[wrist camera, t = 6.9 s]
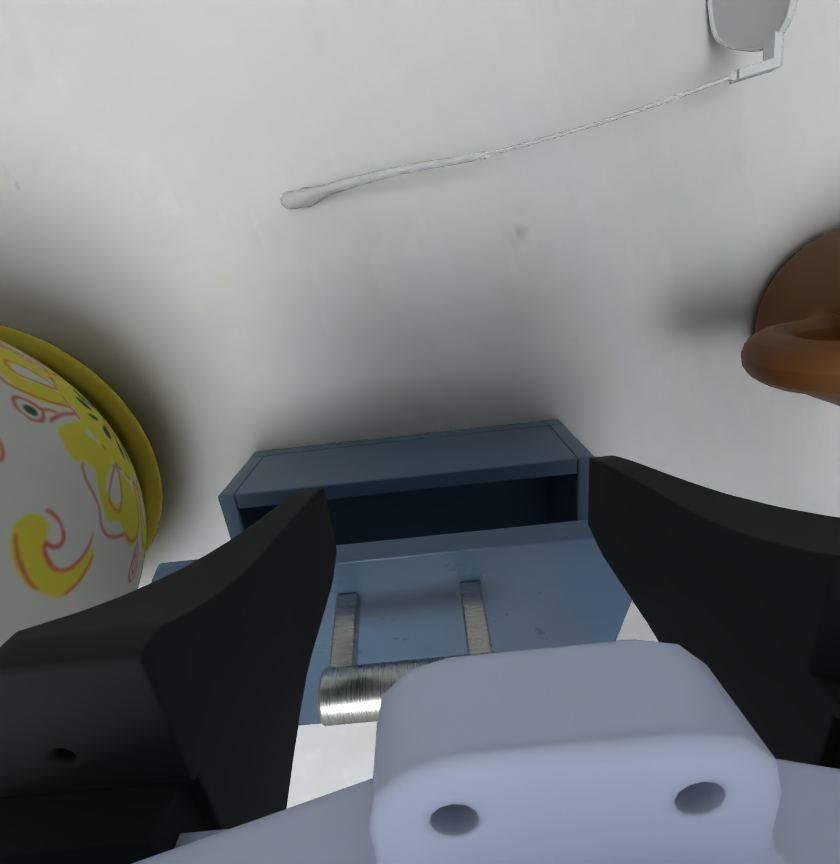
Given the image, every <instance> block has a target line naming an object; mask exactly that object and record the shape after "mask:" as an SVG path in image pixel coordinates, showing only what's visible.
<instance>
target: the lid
mask: <svg viewBox="0 0 840 864" xmlns="http://www.w3.org/2000/svg"><path fill="white" fill-rule="evenodd" d="M336 548H337V554H336V562H335V570H334V577H333V583H332V586H331V590H330V594H329V597H328V601H327V604H326V608H325V611H324V615H323V618H322V621H321V625H320V628H319V632H318V635H317V639H316V642H315V645H314V649H313V652H312V656H311V660H310V664H309V668H308V672H307V678H306V683H305V689H304V695H303V700H302V706H301V711H300V718H299V724H298V725H309V724H319V723H322V724H323V725H325V726H330V725H341V724H351V723H362V722H373V721H378V717H379V711H380V704H381V698H382V695H383V694H384V693H385V692H386V691H387V690H388V689H389V688H391V687H392V686H393V685H394V684H395V683H396V682H397V681H398V680H399V679H400V678H401V677H402V676H403V675H404V674H405V673H406V672H407V671H408V670H411V669H413V668H416V667H420V666H423V665H426V664H429V663H433V662H436V661H439V660H442V659H445V658H449V657H458V656H469V655H479V654H489V653H499V652H509V651H520V650H530V649H540V648H550V647H560V646H571V645H581V644H591V643H601V642H612V641H616V639H617V636H618V634H619V631H620V629H621V626H622V624H623V621H624V619H625V616H626V614H627V611H628V609H629V606H630V604H631V601H632V599H631V597H630V596H629V595H628V593H627V592H626V590H625V589H624V587H623V586H622V584H621V583H620V581H619V580H618V578H617V577H616V575H615V574H614V572H613V571H612V569H611V567H610V566H609V564H608V563H607V561H606V560H605V558H604V557H603V555H602V553H601V551H600V549H599V547H598V545H597V543H596V541H595V539H594V537H593V534H592V532H591V530H590V528H589V526H588V520H580V521H570V522H561V523H551V524H541V525H531V526H521V527H512V528H502V529H492V530H482V531H472V532H463V533H453V534H443V535H433V536H423V537H414V538H404V539H394V540H384V541H374V542H365V543H355V544H345V545H336ZM195 561H197V560H188V561H178V562H169V563H161V564H159V566H158V568H157V570H156V572H155V574H154V577H153V579H152V583H153V582H155V581H157V580H159V579H161V578H163V577H165V576H167V575H169V574H171V573H173V572H175V571H178V570H180V569H182V568H184V567H186V566H188V565H189V564H191V563H193V562H195Z"/></svg>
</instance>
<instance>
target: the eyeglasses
mask: <svg viewBox="0 0 840 864" xmlns="http://www.w3.org/2000/svg"><path fill="white" fill-rule="evenodd" d="M797 1H798V0H707V5H708V14H709V21H710V26H711V30H712V33H713V36H714V39H715V40H716V41H717V42H718V43H719V44H721V45H723V46H725V47H727V48H730V49H734V50H740V51H748V52H756V51H762V50H763V61H762V62H759V63H756V64H753V65H749V66H746V67H743V68H740V69H738V70H737V71H734V72H733V73H731V74H730V75H729V76H727V77H724V78H721V79H718V80H716V81H713V82H710V83H707V84H705V85H702V86H699V87H696V88H693V89H691V90H688V91H685V92H682V93H679V94H676V95H674V96H671V97H668V98H665V99H662V100H660V101H657V102H654V103H651V104H648V105H645V106H643V107H640V108H637V109H634V110H631V111H628V112H625V113H622V114H619V115H616V116H613V117H610V118H607V119H604V120H601V121H597V122H594V123H591V124H587V125H584V126H580V127H577V128H574V129H570V130H567V131H563V132H560V133H556V134H553V135H549V136H546V137H543V138H539V139H536V140H532V141H529V142H525V143H522V144H518V145H514V146H510V147H506V148H502V149H499V150H495V151H491V152H487V153H486V152H485V151H483V152H478V153H473V154H467V155H462V156H457V157H452V158H446V159H439V160H432V161H425V162H419V163H413V164H408V165H404V166H399V167H395V168H390V169H385V170H381V171H376V172H372V173H368V174H364V175H360V176H357V177H352V178H347V179H342V180H338V181H335V182H332V183H329V184H326V185H322V186H318V187H305V188H301V189H299V190H297V191H290V192H286V193H283V194H282V196H281V198H280V202H281V204H282V205H283V206H284V207H286V208H287V209H296V208H299V207H302V206H304V207H311V206H313V205H314V204H316V203H317V202H318V201H319V200H321V199H322V198H324V197H326V196H327V195H329V194H333V193H337V192H341V191H344V190H347V189H350V188H353V187H356V186H359V185H363V184H366V183H370V182H374V181H378V180H382V179H385V178H389V177H393V176H397V175H401V174H406V173H411V172H416V171H421V170H426V169H432V168H437V167H444V166H450V165H455V164H461V163H466V162H472V161H477V160H482V159H486V157H487V156H491V155H495V154H499V153H503V152H507V151H511V150H515V149H518V148H522V147H526V146H529V145H533V144H536V143H540V142H543V141H546V140H550V139H553V138H557V137H560V136H564V135H567V134H571V133H574V132H577V131H581V130H584V129H588V128H591V127H595V126H598V125H601V124H604V123H607V122H610V121H614V120H617V119H620V118H623V117H626V116H629V115H632V114H635V113H638V112H641V111H643V110H646V109H649V108H652V107H655V106H658V105H660V104H663V103H666V102H669V101H672V100H675V99H677V98H680V97H683V96H686V95H689V94H691V93H694V92H697V91H700V90H703V89H706V88H708V87H711V86H714V85H717V84H720V83H722V82H725V81H729V84H732V83H735V82H738V81H742V80H745V79H748V78H751V77H755V76H758V75H761V74H764V73H768V72H771V71H773V70H775V69H776V68H778V67H780V66H781V65H782V51H783V35H784V33H785V31H786V30H787V28H788V27H789V24H790V22H791V20H792V18H793V16H794V13H795V9H796V6H797Z"/></svg>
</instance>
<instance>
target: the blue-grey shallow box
mask: <svg viewBox="0 0 840 864" xmlns="http://www.w3.org/2000/svg"><path fill="white" fill-rule="evenodd" d="M589 458H594V456H593V455H592V454H591V453H590V452H589V451H588V450H587V449H586V448H585V447H584V446H583V444H582V443H581V442H580V441H579V440H578V439H577V438H576V437H575V436H574V435H573V434H572V433H571V432H570V431H569V430H568V429H567V428H566V427H565V425H563V423H562V422H561V421H560V420H559V419H556V420H547V421H538V422H529V423H519V424H510V425H501V426H491V427H482V428H473V429H464V430H454V431H445V432H436V433H426V434H417V435H408V436H399V437H389V438H380V439H371V440H361V441H352V442H343V443H333V444H324V445H315V446H306V447H296V448H287V449H278V450H268V451H259V452H255V453H254V454H253V455H252V457H251V458H250V459H249V461H248V462H247V463H246V464H245V465H244V466H243V468H242V469H241V470H240V471H239V472H238V474H237V475H236V476H235V477H234V478H233V479H232V481H231V482H230V483H229V484H228V485H227V487H226V488H225V489H224V490H223V491H222V493H221V494H220V495H219V497H218V498H219V501H220V505H221V508H222V511H223V515H224V518H225V521H226V524H227V528H228V531H229V534H230V538H231V539H233V538H234V537H235V536H237V535H238V534H240V533H241V532H243V531H244V530H246V529H247V528H248V527H250V526H251V525H253V524H254V523H256V522H257V521H258V520H260V519H261V518H262V517H264V516H265V515H266V514H268V513H269V512H270V511H272V510H273V509H274V508H275V507H277V506H278V505H279V504H281V503H282V502H283V501H285V500H286V499H287V498H289V497H290V496H292V495H293V494H294V493H296V492H298V491H299V490H301V489H309V488H318V487H324V491H325V496H326V501H327V506H328V510H329V515H330V520H331V524H332V529H333V534H334V539H335V543H336V545H345V544H355V543H365V542H374V541H384V540H394V539H404V538H414V537H423V536H433V535H443V534H453V533H463V532H472V531H482V530H492V529H502V528H512V527H521V526H531V525H541V524H551V523H561V522H570V521H580V520H588V492H589Z"/></svg>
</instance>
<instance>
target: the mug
mask: <svg viewBox="0 0 840 864" xmlns="http://www.w3.org/2000/svg"><path fill="white" fill-rule="evenodd" d="M741 359H742V366H743V367H744V369H745V370H746V371H747V373H748V374H749V375H750V376H751V377H753V378H754V379H756V380H758V381H760V382H762V383H764V384H766V385H768V386H771V387H774V388H778V389H781V390H784V391H790V392H796V393H802V394H806V395H809V396H812V397H815V398H818V399H821V400H824V401H827V402H830V403H833V404H836V405H839V406H840V228H838V229H835V230H832V231H830V232H828V233H826V234H824V235H822V236H820V237H818V238H817V239H815V240H813V241H812V242H810V243H809V244H807V245H806V246H805V247H803V248H802V249H801V250H799V251H798V252H797V253H796V254H795V255H794V256H793V257H792V258H791V259H789V260H788V261H787V262H786V264H785V265H784V266H783V267H782V268H781V269H780V270H779V272H778V273H777V274H776V276H775V277H774V278H773V280H772V281H771V283H770V285H769V286H768V288H767V290H766V292H765V294H764V296H763V298H762V301H761V304H760V307H759V310H758V314H757V319H756V327H755V334H754V335H752V336H751V337H750V338H749V339H748V341H747V342H746V343H745V344H744V346H743V349H742V351H741Z"/></svg>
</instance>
